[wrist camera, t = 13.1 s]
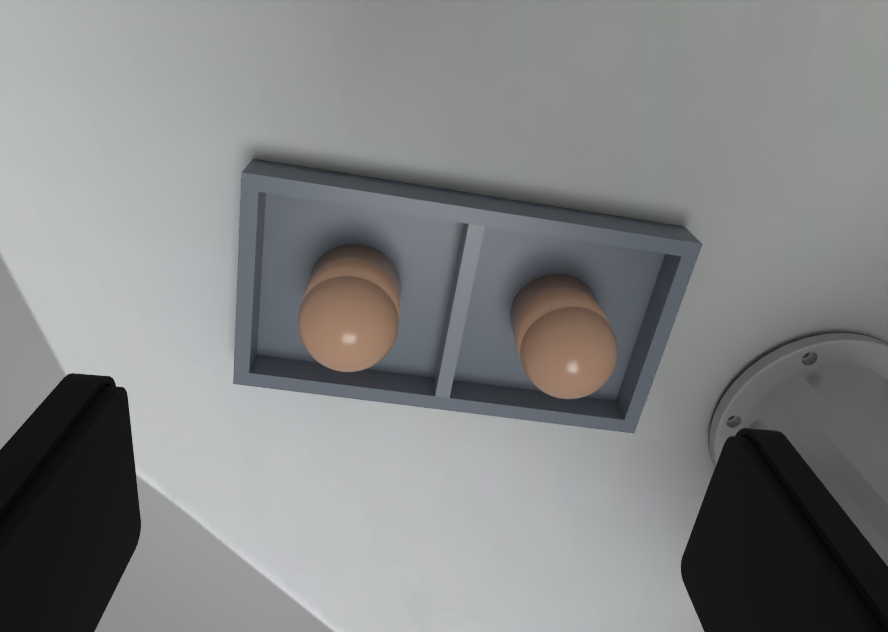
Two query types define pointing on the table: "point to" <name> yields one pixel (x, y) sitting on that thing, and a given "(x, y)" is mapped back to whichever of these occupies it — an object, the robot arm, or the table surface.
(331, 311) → the egg
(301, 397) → the table surface
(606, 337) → the seated egg
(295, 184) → the divided grey tray
